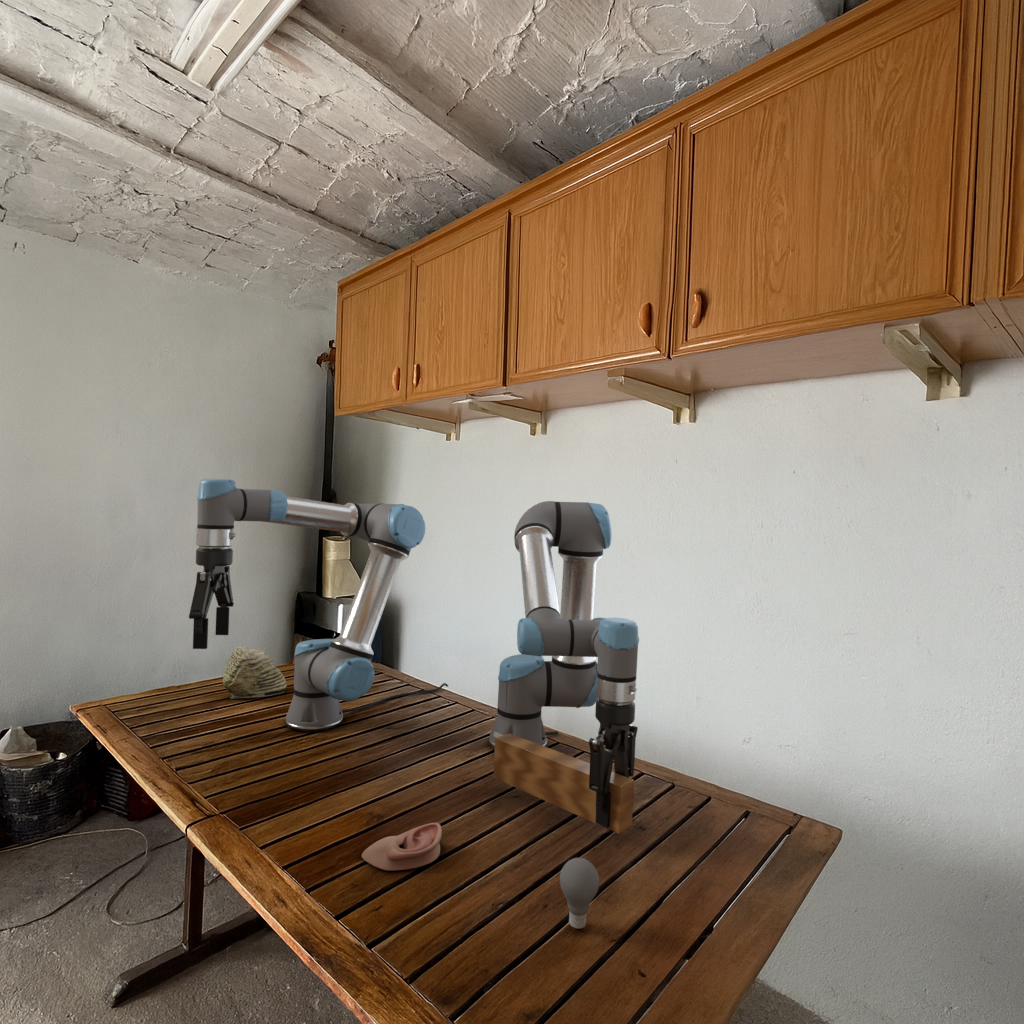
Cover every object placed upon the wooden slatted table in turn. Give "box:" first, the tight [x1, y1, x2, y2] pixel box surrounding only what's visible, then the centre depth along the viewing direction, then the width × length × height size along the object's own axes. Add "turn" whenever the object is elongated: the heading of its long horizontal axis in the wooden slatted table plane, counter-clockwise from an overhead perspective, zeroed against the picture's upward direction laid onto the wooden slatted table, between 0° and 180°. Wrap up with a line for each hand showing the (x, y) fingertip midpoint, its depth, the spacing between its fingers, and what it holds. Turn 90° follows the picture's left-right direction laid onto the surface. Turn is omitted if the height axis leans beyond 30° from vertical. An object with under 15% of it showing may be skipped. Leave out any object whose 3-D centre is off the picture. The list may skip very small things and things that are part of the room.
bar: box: [493, 733, 635, 834], centre depth 131 cm, size 33×5×9 cm, turn 47°
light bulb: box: [559, 857, 600, 929], centre depth 96 cm, size 6×6×10 cm
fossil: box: [222, 646, 288, 699], centre depth 198 cm, size 9×18×15 cm, turn 132°
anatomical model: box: [361, 822, 443, 872], centre depth 114 cm, size 13×4×12 cm
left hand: (211, 641), depth 143 cm, fingers open, 13 cm apart
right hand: (610, 819), depth 122 cm, fingers closed on bar, 5 cm apart
